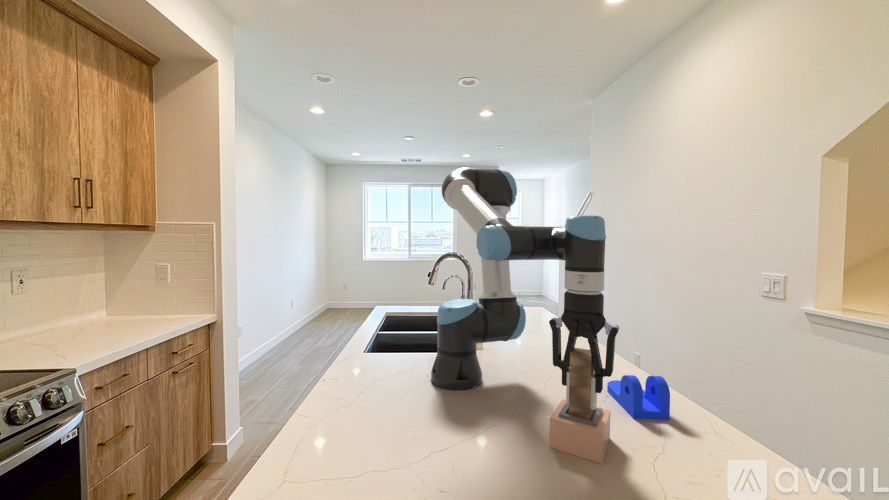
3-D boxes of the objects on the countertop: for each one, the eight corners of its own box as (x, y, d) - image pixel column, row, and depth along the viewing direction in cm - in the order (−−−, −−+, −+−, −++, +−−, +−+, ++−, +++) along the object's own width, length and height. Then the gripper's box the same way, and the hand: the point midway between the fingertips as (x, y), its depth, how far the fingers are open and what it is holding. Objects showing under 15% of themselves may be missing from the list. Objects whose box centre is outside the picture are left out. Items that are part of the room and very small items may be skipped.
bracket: (669, 420, 84) (670, 382, 83) (633, 419, 84) (634, 382, 83) (631, 387, 101) (632, 356, 101) (602, 387, 102) (603, 356, 101)
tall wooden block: (568, 419, 73) (570, 352, 72) (573, 411, 76) (574, 347, 76) (589, 425, 71) (590, 356, 70) (593, 417, 74) (594, 350, 74)
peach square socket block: (549, 446, 72) (549, 414, 72) (561, 424, 81) (562, 396, 81) (602, 463, 67) (603, 429, 67) (609, 438, 75) (610, 408, 75)
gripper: (536, 290, 74) (535, 400, 75) (628, 298, 65) (625, 423, 66) (547, 286, 80) (545, 388, 81) (632, 292, 71) (629, 407, 72)
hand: (581, 403), depth 74 cm, fingers closed on tall wooden block, 4 cm apart
